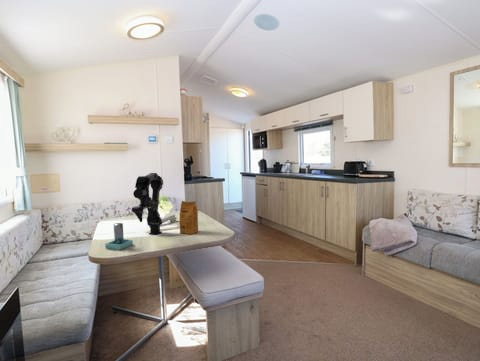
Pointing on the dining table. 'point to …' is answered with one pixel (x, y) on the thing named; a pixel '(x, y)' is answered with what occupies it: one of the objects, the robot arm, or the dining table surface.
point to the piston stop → (118, 233)
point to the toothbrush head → (171, 218)
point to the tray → (118, 247)
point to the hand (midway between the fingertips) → (146, 220)
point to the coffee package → (188, 218)
